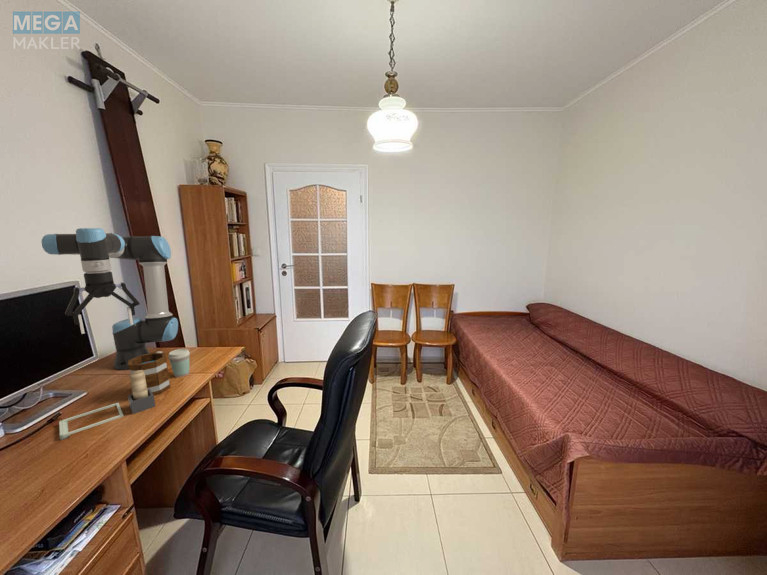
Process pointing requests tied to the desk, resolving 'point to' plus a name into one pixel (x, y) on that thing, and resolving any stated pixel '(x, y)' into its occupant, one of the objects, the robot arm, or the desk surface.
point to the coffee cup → (179, 362)
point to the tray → (64, 425)
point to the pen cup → (141, 402)
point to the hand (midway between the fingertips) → (108, 328)
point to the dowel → (138, 384)
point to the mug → (152, 371)
